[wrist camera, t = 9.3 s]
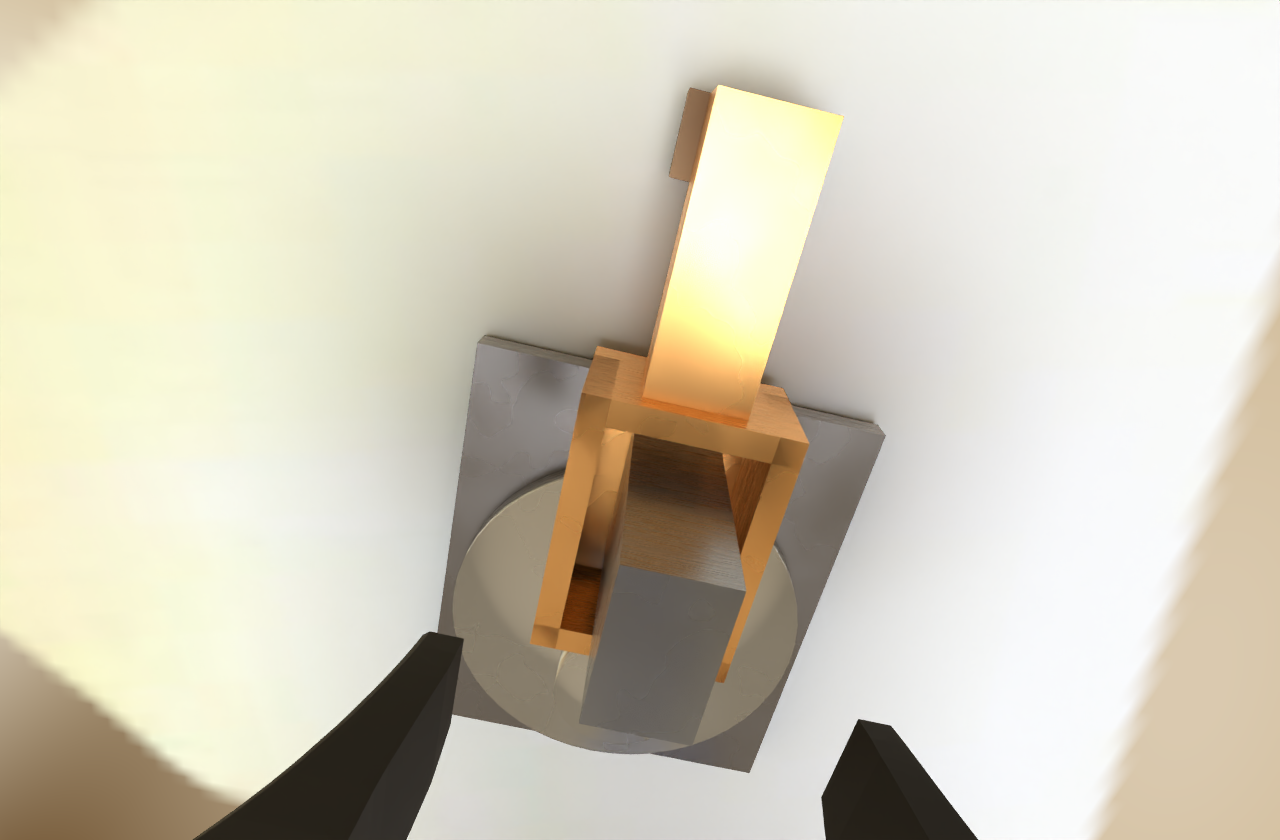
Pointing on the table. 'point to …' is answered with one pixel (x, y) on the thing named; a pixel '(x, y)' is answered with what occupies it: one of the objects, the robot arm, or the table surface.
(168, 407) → the table surface
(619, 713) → the brushed metal block
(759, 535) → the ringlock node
